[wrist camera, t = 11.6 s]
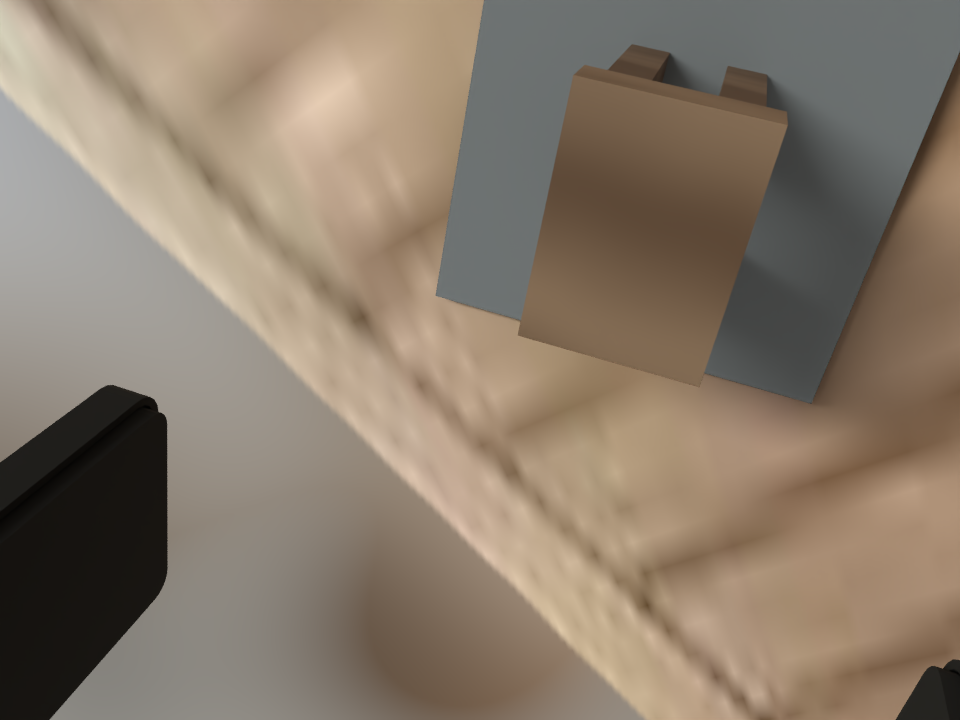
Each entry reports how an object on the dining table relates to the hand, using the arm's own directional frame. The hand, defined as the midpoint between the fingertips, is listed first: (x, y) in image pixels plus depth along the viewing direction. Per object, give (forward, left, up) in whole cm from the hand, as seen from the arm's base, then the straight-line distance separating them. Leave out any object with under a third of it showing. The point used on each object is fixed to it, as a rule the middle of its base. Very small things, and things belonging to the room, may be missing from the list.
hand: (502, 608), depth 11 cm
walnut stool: (0, 0, -22) cm, 22 cm away
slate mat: (0, 0, -22) cm, 22 cm away
